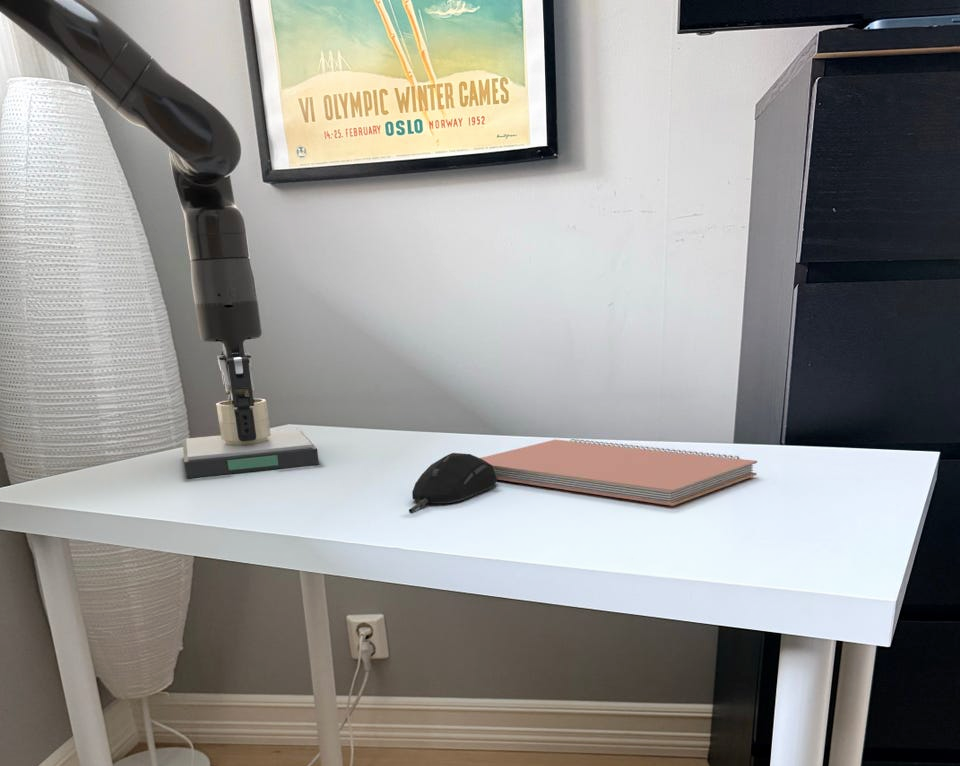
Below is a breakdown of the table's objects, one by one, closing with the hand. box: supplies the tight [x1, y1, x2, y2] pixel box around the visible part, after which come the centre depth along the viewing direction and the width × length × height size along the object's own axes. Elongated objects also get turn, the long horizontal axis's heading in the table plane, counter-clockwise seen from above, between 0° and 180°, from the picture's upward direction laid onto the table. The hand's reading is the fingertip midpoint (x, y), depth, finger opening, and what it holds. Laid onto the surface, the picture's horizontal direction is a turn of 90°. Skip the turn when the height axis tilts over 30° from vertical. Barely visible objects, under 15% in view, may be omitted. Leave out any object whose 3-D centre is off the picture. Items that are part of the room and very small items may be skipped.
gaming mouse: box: [408, 452, 498, 514], centre depth 96 cm, size 6×15×4 cm, turn 152°
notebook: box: [480, 438, 758, 507], centre depth 101 cm, size 27×17×2 cm, turn 46°
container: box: [215, 398, 271, 445], centre depth 119 cm, size 6×6×5 cm
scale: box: [182, 427, 320, 479], centre depth 121 cm, size 16×16×2 cm
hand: (245, 436), depth 120 cm, fingers closed on container, 6 cm apart
